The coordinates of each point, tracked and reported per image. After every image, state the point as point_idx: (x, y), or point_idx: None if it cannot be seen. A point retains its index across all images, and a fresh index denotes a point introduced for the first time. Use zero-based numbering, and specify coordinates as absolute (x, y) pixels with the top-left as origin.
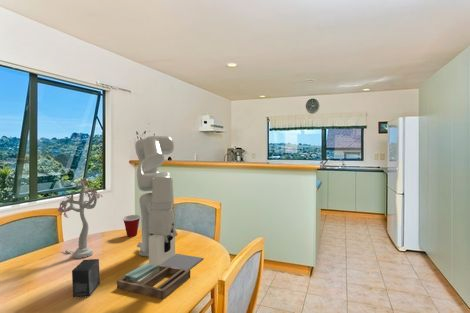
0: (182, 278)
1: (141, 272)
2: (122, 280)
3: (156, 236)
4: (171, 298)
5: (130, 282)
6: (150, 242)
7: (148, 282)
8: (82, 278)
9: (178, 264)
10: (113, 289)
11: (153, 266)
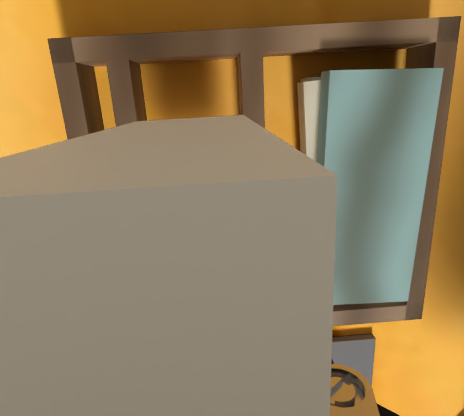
0: None
1: (350, 157)
2: (425, 40)
3: (43, 357)
4: (34, 76)
5: (351, 41)
6: (224, 146)
7: (242, 110)
8: None
9: None
10: (441, 6)
11: None
